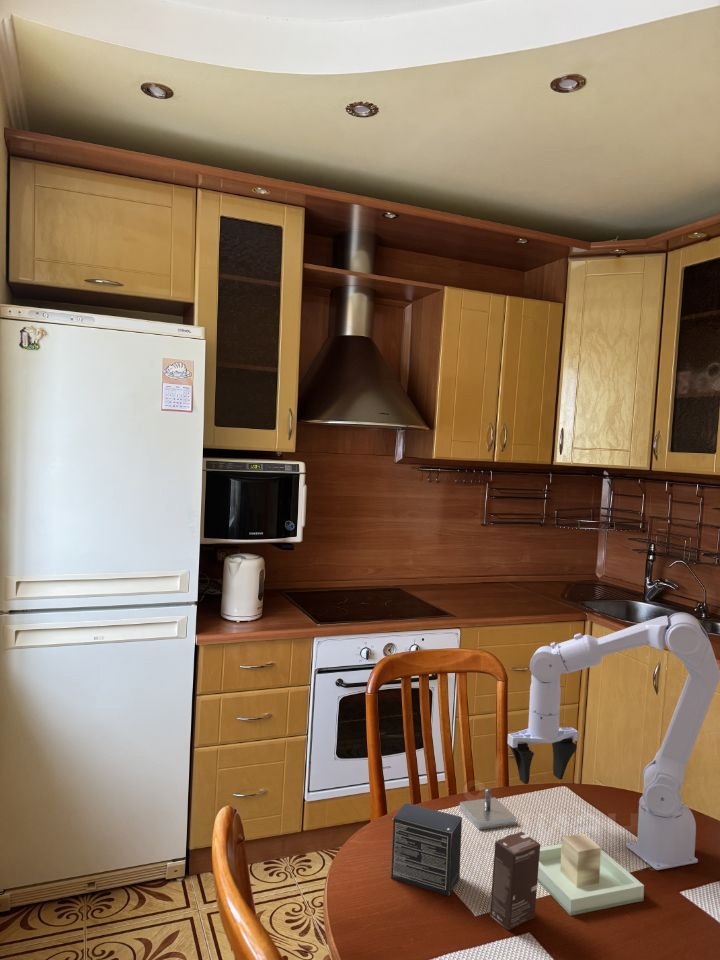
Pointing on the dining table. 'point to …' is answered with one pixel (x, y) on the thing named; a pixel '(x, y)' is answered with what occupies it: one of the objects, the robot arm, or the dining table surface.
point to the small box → (426, 848)
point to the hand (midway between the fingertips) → (541, 779)
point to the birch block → (580, 860)
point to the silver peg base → (487, 812)
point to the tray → (576, 900)
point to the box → (514, 880)
